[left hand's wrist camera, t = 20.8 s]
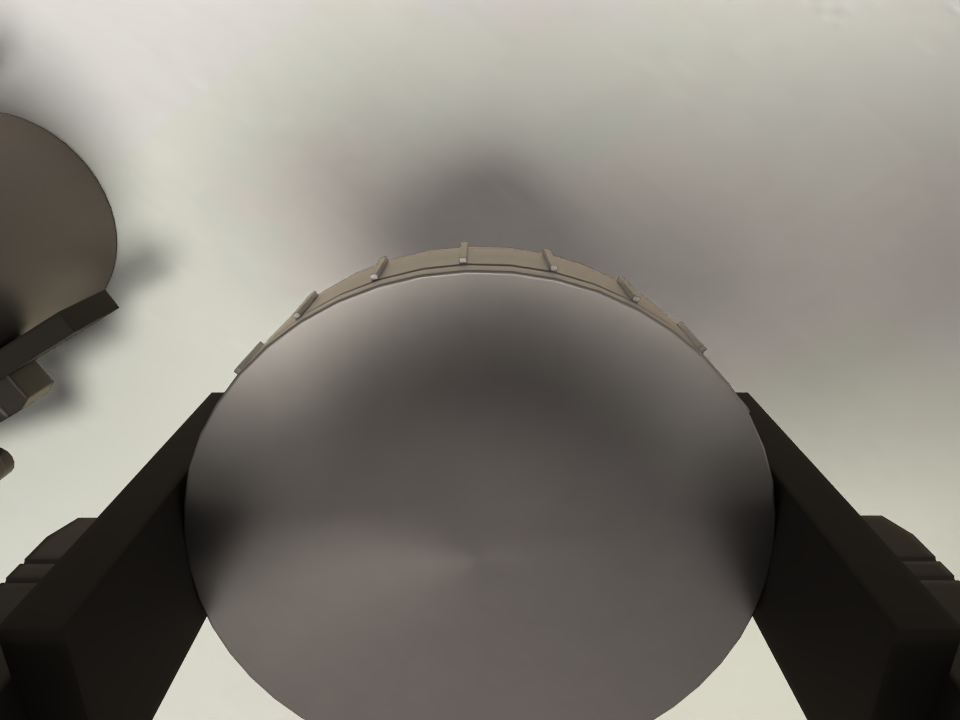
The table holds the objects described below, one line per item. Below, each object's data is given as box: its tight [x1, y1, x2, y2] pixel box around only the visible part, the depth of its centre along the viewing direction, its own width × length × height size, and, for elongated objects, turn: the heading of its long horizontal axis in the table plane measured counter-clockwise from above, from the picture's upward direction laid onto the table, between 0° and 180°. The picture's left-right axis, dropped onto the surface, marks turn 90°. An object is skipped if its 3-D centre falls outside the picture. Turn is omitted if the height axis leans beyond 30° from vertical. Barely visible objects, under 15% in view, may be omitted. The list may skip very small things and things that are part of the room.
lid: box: [184, 242, 776, 720], centre depth 11 cm, size 10×10×2 cm
